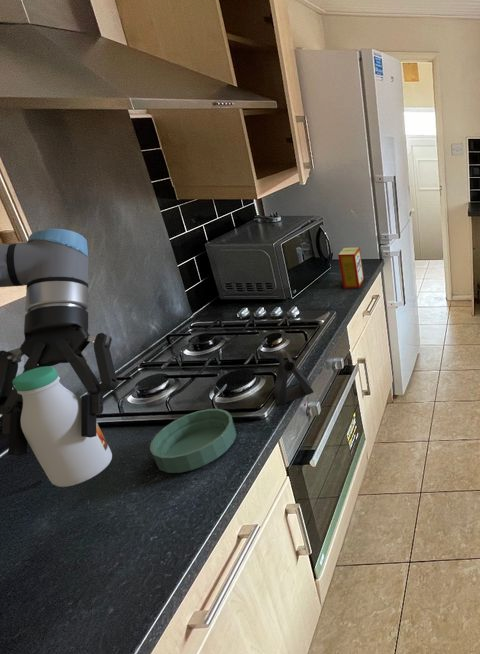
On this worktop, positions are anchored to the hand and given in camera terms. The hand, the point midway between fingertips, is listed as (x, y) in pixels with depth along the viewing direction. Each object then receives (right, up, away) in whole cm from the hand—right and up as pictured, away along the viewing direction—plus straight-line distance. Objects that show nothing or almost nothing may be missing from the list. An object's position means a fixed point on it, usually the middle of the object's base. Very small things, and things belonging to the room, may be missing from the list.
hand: (54, 444), depth 66 cm
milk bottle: (-2, -7, +6) cm, 9 cm away
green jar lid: (-1, -14, +31) cm, 34 cm away
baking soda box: (+2, +22, +119) cm, 121 cm away
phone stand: (+12, -7, +50) cm, 51 cm away
